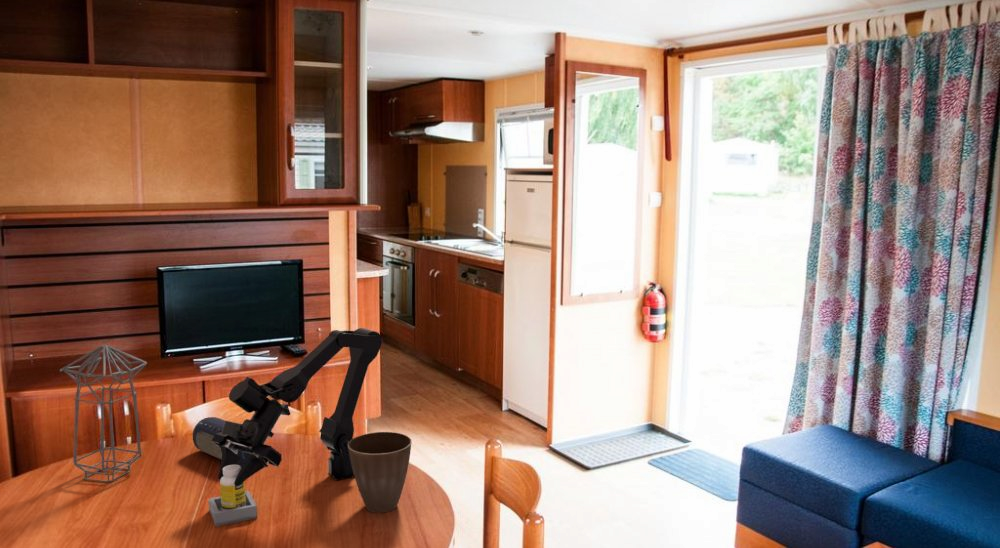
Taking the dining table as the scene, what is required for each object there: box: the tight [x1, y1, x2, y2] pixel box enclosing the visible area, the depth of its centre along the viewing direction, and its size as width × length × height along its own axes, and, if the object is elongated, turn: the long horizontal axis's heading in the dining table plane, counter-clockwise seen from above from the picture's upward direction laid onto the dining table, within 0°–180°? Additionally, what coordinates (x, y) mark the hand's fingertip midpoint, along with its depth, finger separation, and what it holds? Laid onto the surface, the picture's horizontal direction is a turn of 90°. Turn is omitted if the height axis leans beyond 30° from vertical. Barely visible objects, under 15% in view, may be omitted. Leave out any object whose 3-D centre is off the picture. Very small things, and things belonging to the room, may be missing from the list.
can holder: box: [208, 490, 258, 527], centre depth 181 cm, size 9×9×3 cm
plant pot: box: [348, 431, 413, 514], centre depth 185 cm, size 15×15×16 cm
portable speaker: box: [192, 416, 251, 468], centre depth 216 cm, size 25×10×10 cm, turn 51°
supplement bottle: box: [219, 465, 246, 510], centre depth 181 cm, size 5×5×10 cm
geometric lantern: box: [59, 344, 148, 483], centre depth 202 cm, size 16×16×35 cm
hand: (227, 482), depth 179 cm, fingers closed on supplement bottle, 5 cm apart
